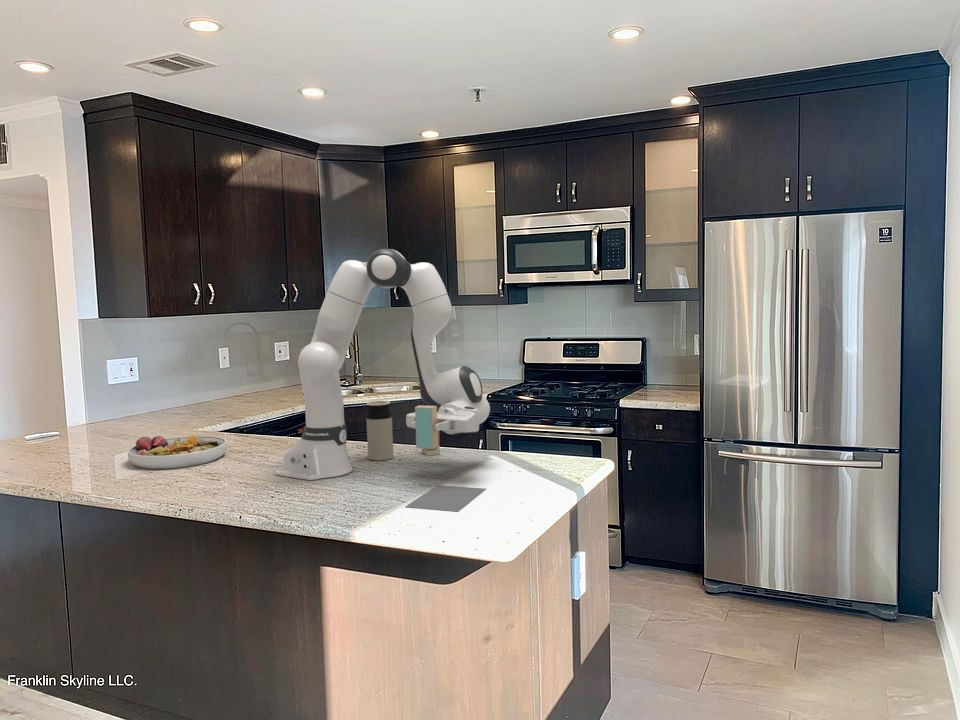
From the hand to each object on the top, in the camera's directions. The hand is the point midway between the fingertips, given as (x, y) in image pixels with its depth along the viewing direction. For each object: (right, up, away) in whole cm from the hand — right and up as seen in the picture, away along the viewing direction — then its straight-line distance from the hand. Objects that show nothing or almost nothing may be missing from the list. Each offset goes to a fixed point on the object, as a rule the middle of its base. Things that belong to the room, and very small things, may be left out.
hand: (424, 426), depth 189 cm
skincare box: (-1, -13, +42) cm, 44 cm away
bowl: (-84, -15, +44) cm, 96 cm away
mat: (+6, -17, -9) cm, 21 cm away
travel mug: (-17, -14, +38) cm, 43 cm away
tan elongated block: (+1, -6, +1) cm, 6 cm away
